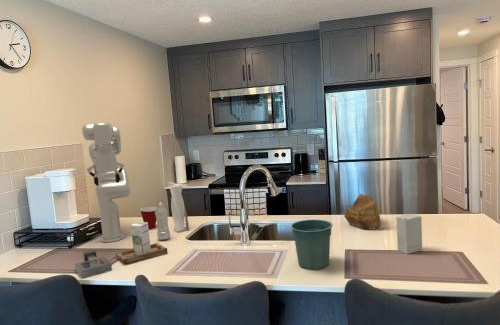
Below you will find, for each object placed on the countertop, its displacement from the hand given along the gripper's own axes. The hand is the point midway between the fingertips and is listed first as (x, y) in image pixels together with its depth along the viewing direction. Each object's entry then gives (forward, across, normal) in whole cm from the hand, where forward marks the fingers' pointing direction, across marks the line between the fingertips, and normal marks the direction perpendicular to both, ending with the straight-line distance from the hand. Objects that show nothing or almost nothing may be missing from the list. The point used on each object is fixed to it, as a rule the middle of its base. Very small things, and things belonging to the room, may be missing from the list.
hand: (107, 183), depth 185 cm
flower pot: (+34, +54, -83) cm, 105 cm away
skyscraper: (+34, +39, +8) cm, 52 cm away
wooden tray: (+33, +7, -19) cm, 39 cm away
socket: (+33, -15, -21) cm, 42 cm away
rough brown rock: (+34, +111, -62) cm, 131 cm away
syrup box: (+32, +7, -19) cm, 38 cm away
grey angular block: (+33, -13, -12) cm, 38 cm away
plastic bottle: (+34, +25, -2) cm, 42 cm away
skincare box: (+34, +92, -101) cm, 141 cm away
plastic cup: (+34, +29, +27) cm, 52 cm away
